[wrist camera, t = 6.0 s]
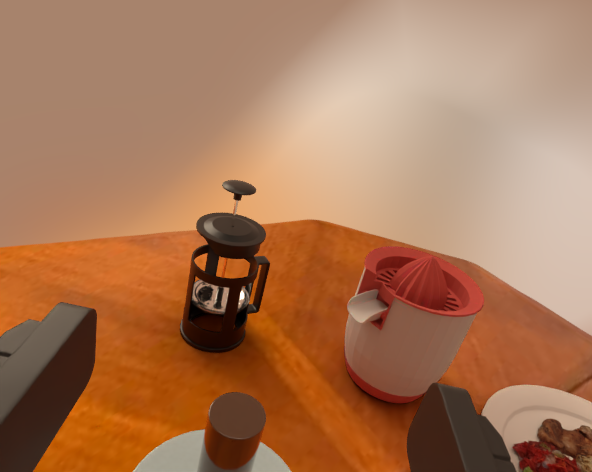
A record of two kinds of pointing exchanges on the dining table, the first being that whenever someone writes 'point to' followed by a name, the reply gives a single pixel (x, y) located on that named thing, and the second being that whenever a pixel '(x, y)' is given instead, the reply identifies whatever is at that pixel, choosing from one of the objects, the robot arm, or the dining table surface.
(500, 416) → the plated food
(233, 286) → the french press
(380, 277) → the citrus juicer
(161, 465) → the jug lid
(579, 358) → the dining table surface
